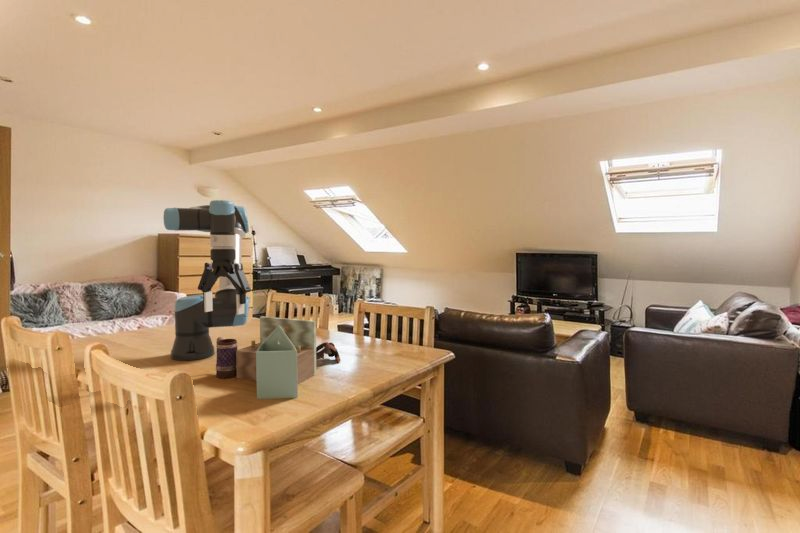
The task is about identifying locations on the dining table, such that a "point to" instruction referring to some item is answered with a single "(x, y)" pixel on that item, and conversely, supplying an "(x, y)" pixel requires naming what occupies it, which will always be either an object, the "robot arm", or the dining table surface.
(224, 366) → the mug
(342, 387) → the dining table surface
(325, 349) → the brown arched figurine
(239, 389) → the dining table surface
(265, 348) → the planter
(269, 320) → the wall shelf
